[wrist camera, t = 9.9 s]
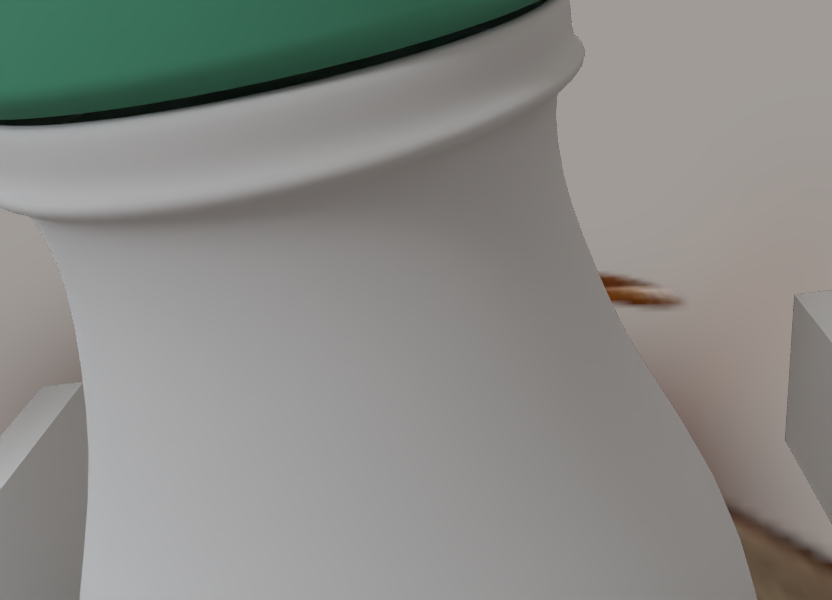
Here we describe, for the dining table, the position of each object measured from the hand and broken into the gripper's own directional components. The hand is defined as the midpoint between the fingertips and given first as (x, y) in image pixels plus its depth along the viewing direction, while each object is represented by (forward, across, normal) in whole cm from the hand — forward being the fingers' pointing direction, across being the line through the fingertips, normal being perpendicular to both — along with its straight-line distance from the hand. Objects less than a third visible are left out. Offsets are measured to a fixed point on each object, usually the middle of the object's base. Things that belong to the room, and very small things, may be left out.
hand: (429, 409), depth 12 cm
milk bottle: (-4, 0, -12) cm, 13 cm away
